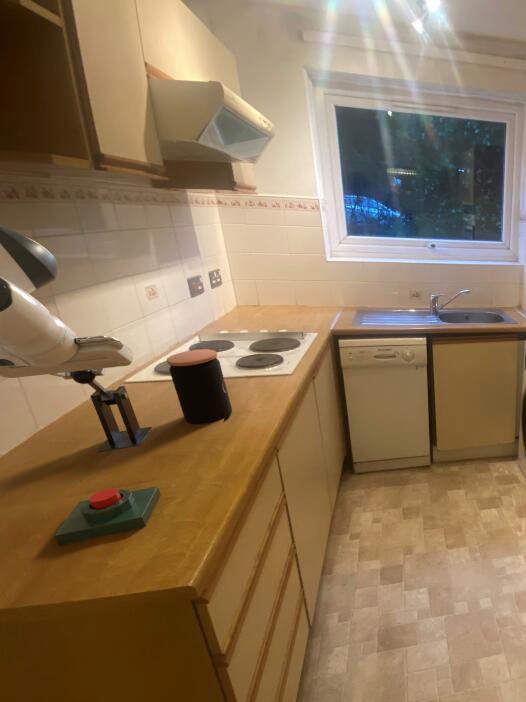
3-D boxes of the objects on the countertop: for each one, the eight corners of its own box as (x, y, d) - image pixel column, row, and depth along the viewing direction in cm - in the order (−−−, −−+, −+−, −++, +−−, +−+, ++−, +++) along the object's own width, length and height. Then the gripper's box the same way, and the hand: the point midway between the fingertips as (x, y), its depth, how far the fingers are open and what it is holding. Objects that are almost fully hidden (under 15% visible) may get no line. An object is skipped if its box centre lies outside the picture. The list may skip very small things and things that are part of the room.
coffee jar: (240, 416, 118) (224, 354, 111) (197, 432, 110) (176, 365, 103) (222, 406, 124) (205, 346, 117) (179, 420, 116) (158, 357, 109)
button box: (58, 546, 73) (49, 527, 72) (83, 510, 82) (75, 493, 80) (145, 526, 78) (138, 508, 76) (161, 495, 86) (154, 478, 85)
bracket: (141, 449, 102) (121, 396, 97) (98, 456, 99) (75, 402, 94) (153, 430, 111) (136, 380, 105) (114, 436, 108) (94, 385, 102)
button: (88, 512, 76) (84, 504, 75) (97, 499, 79) (94, 491, 79) (117, 506, 78) (113, 498, 77) (124, 493, 81) (121, 485, 80)
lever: (89, 377, 90) (90, 362, 91) (66, 380, 88) (68, 365, 90) (122, 405, 102) (123, 392, 103) (103, 408, 100) (104, 394, 102)
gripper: (115, 322, 85) (146, 355, 97) (-29, 333, 77) (24, 367, 89) (114, 350, 83) (146, 380, 95) (-34, 364, 75) (21, 395, 87)
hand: (86, 374), depth 92 cm, fingers closed on lever, 3 cm apart
